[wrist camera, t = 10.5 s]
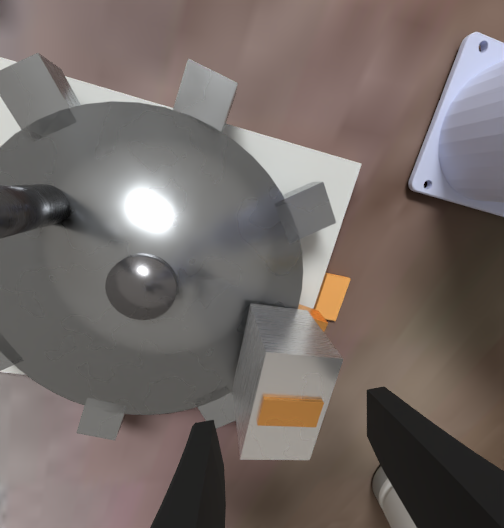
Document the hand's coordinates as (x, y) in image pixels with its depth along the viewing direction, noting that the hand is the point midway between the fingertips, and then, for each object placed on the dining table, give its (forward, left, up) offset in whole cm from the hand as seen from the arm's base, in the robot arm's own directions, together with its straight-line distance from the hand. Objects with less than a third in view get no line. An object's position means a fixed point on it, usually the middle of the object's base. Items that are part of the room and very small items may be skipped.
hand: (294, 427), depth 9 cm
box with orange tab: (0, +1, -5) cm, 5 cm away
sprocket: (+6, -2, -7) cm, 9 cm away
